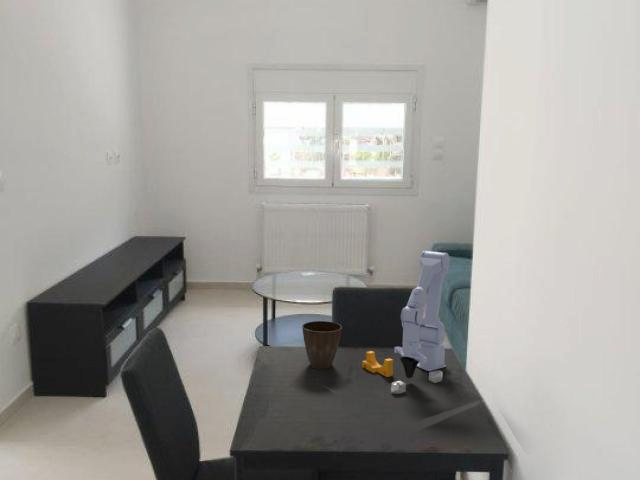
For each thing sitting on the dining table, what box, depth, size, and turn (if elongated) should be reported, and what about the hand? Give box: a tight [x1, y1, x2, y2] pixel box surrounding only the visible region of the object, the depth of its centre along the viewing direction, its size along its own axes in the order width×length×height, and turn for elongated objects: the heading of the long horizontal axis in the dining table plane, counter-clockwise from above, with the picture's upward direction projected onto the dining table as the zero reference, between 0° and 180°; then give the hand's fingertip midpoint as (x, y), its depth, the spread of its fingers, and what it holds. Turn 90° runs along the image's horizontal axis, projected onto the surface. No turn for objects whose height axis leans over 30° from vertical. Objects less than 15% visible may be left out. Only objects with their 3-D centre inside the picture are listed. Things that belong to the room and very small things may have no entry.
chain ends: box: [390, 369, 443, 395], centre depth 209 cm, size 24×3×3 cm, turn 126°
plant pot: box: [301, 320, 343, 370], centre depth 225 cm, size 15×15×16 cm
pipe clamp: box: [361, 350, 394, 378], centre depth 221 cm, size 12×4×6 cm, turn 37°
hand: (409, 377), depth 212 cm, fingers closed
